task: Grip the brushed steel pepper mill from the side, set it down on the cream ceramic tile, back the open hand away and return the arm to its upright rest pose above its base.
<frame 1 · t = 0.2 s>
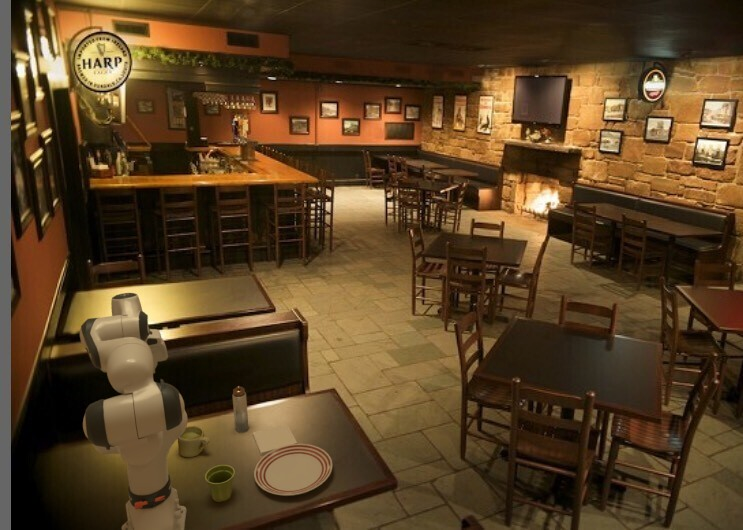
hand: (137, 375, 169), 39 cm above the table, fingers open, 8 cm apart
serving tile: (274, 440, 200), on the table
plant pot: (222, 496, 171), on the table
dinner plate: (294, 475, 181), on the table
mug: (195, 452, 193), on the table
pepper mill: (242, 429, 207), on the table
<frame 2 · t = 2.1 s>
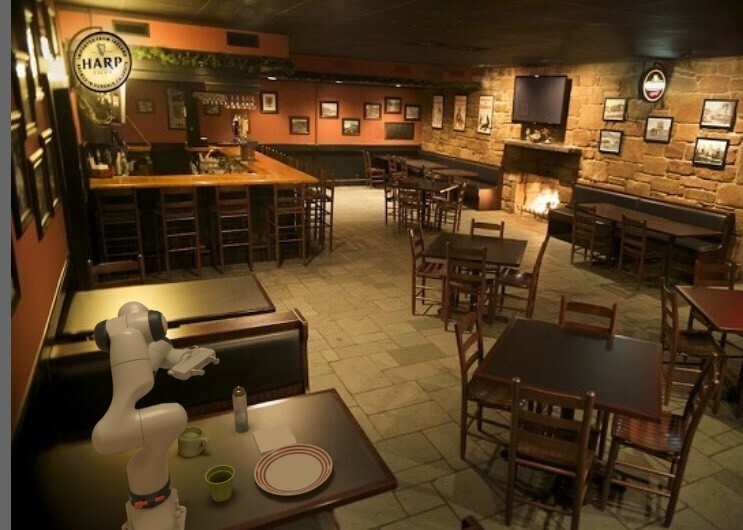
hand: (211, 367, 203), 26 cm above the table, fingers open, 8 cm apart
nothing on the table moved.
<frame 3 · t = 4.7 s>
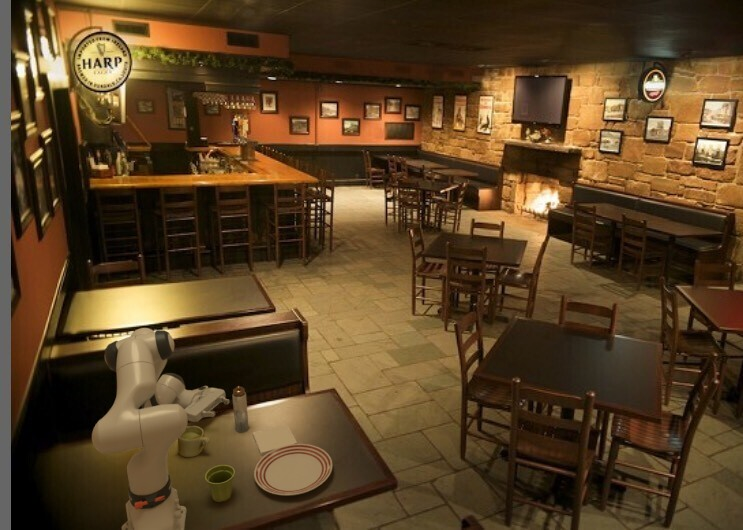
hand: (221, 408, 207), 8 cm above the table, fingers open, 8 cm apart
nothing on the table moved.
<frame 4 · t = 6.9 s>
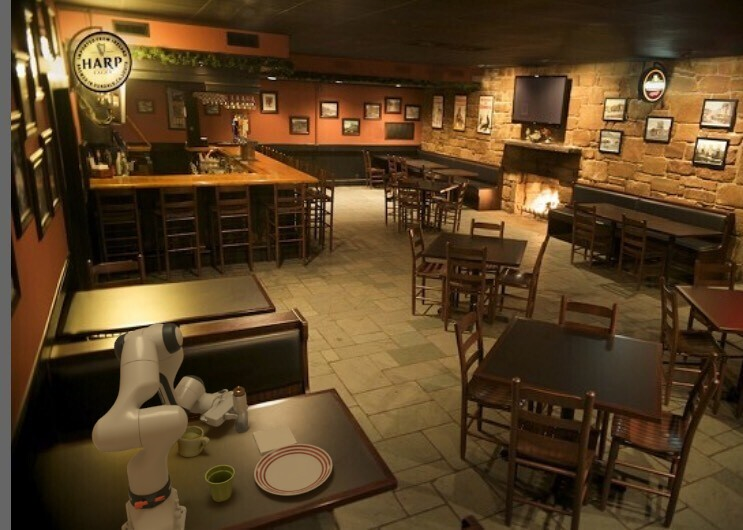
hand: (242, 412, 204), 8 cm above the table, fingers closed on pepper mill, 5 cm apart
pepper mill: (242, 429, 207), on the table, touching gripper
everything else where it was.
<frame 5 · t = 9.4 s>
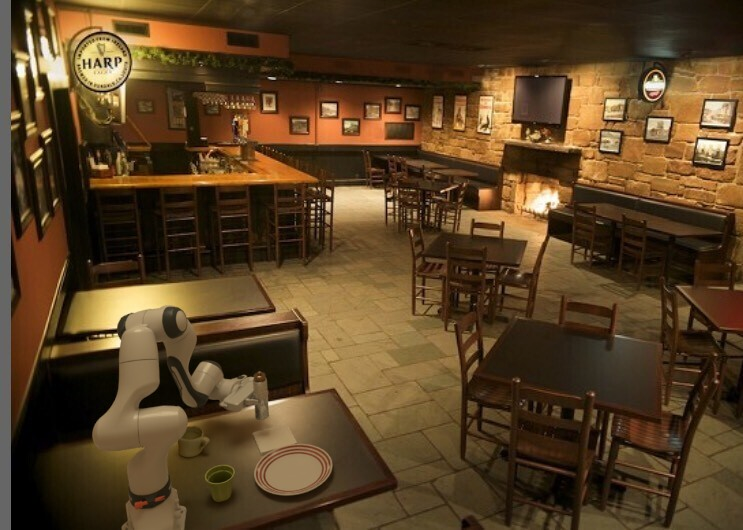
hand: (263, 397, 197), 18 cm above the table, fingers closed on pepper mill, 5 cm apart
pepper mill: (262, 416, 199), point 9 cm above the table, touching gripper
everything else where it was.
when the fingers open (11 cm above the table, at t = 11.9 s): pepper mill stays where it is, resting on serving tile.
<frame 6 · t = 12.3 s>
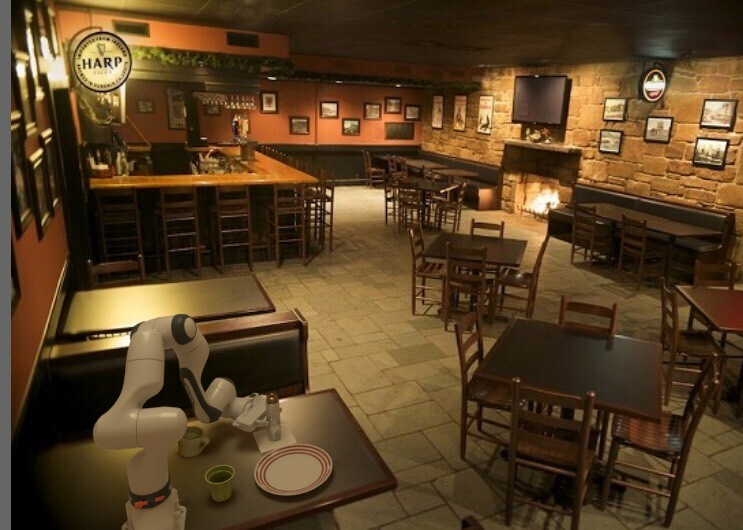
hand: (275, 416, 196), 11 cm above the table, fingers open, 8 cm apart
pepper mill: (274, 437, 199), point 1 cm above the table, touching serving tile
everything else where it was.
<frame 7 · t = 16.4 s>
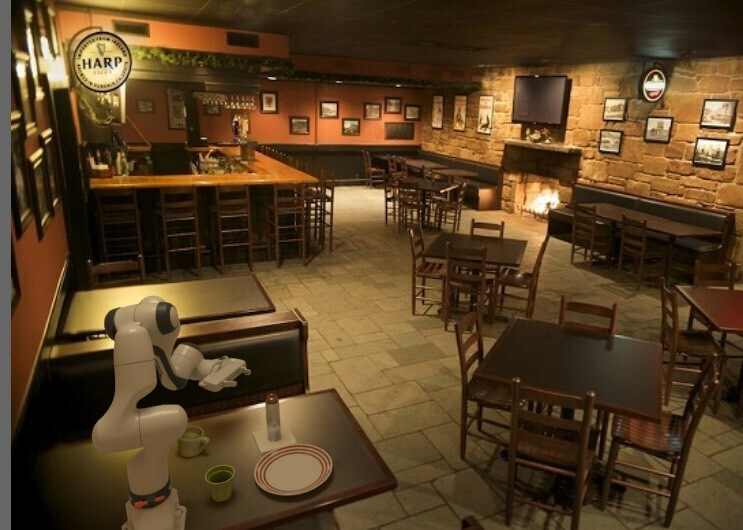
hand: (242, 378, 196), 25 cm above the table, fingers open, 8 cm apart
nothing on the table moved.
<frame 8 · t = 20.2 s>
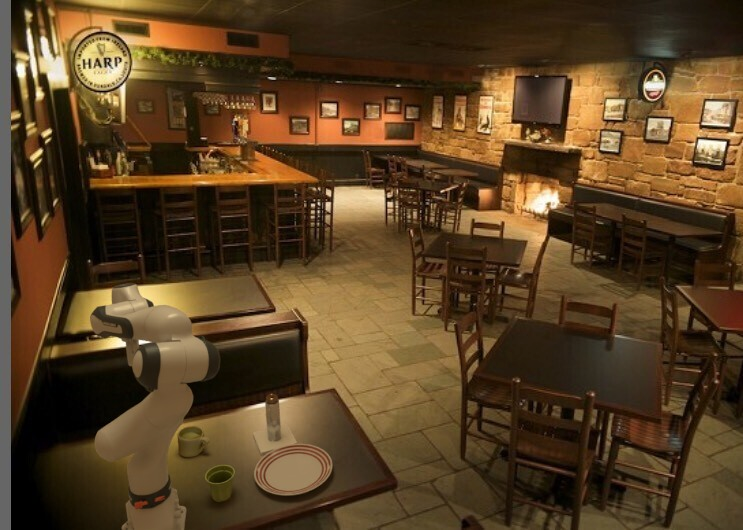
hand: (135, 366, 176), 39 cm above the table, fingers open, 8 cm apart
nothing on the table moved.
at the end: pepper mill inside the target area on the serving tile (0.1 cm from its centre), point 1.2 cm above the serving tile's base; pepper mill tilted 0°; the gripper is holding nothing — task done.
